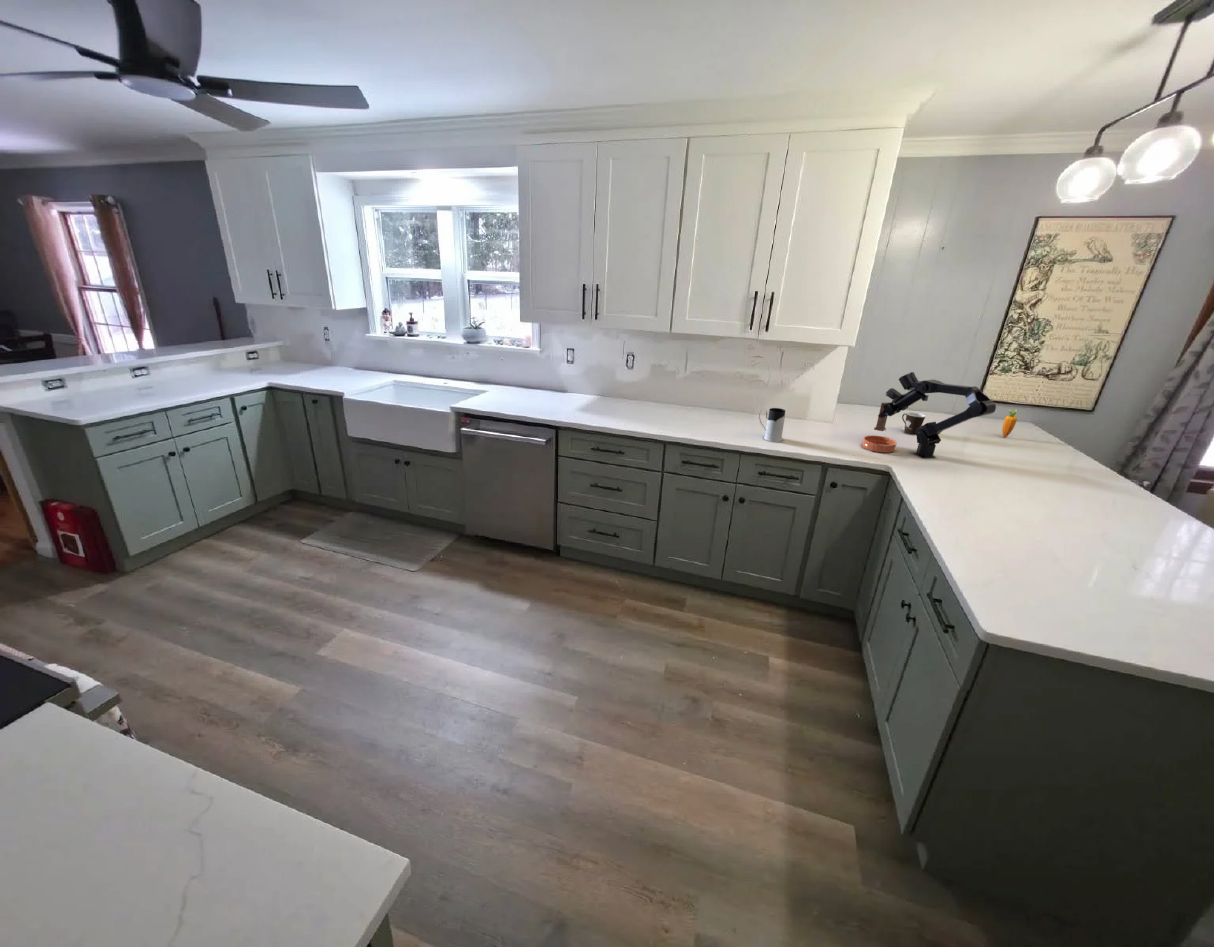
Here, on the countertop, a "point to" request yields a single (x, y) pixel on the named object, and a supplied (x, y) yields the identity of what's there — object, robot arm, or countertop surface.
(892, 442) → the bowl
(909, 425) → the coffee mug
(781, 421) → the white pitcher
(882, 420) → the brown wooden block
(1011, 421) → the carrot
